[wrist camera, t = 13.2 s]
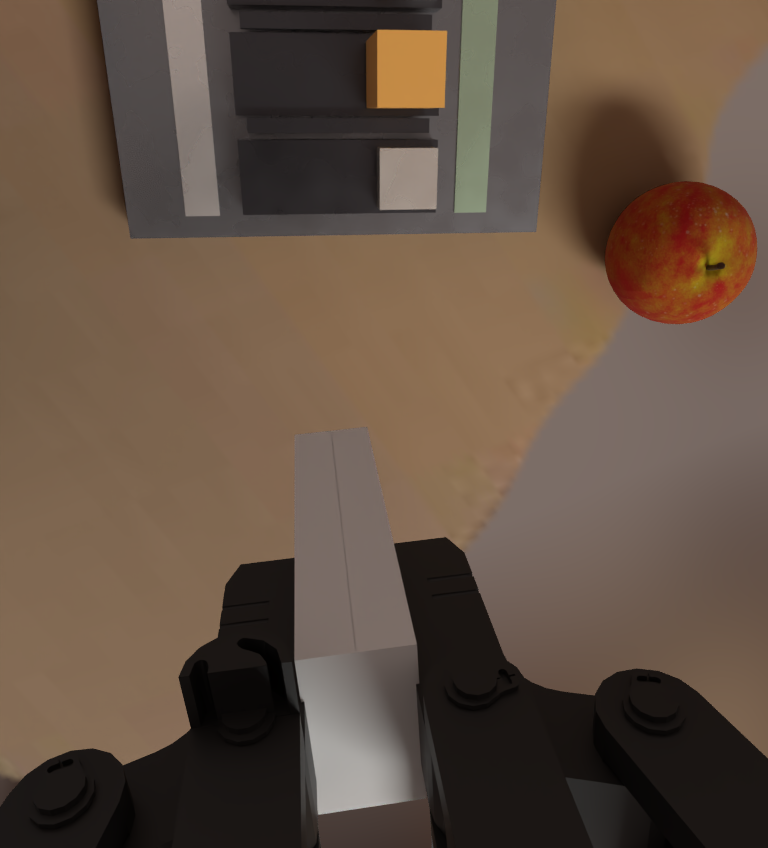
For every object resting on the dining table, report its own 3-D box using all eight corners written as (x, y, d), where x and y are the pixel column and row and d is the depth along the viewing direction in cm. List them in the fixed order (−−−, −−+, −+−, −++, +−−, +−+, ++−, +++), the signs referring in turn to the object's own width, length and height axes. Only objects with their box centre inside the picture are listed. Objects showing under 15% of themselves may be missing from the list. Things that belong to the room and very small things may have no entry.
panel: (138, 232, 35) (117, 248, 31) (93, -107, 30) (59, -144, 26) (524, 225, 38) (553, 240, 33) (549, -91, 32) (589, -123, 28)
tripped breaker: (366, 108, 31) (377, 107, 27) (365, 41, 30) (377, 29, 26) (425, 108, 31) (444, 107, 27) (426, 41, 30) (446, 30, 26)
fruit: (726, 254, 40) (823, 285, 32) (621, 328, 41) (692, 375, 33) (673, 148, 37) (766, 155, 30) (562, 230, 38) (625, 257, 31)
